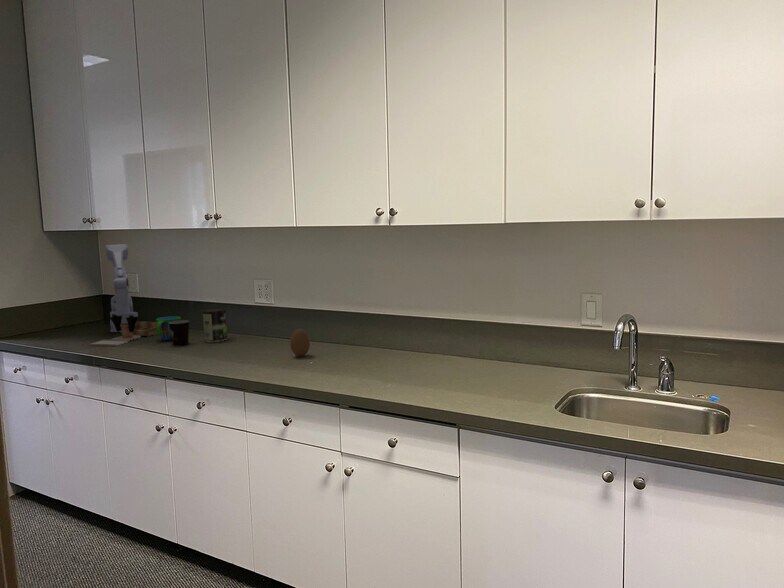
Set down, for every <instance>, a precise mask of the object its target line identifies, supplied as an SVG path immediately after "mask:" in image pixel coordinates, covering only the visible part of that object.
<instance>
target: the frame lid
mask: <svg viewBox="0 0 784 588" xmlns="http://www.w3.org/2000/svg"><path fill="white" fill-rule="evenodd" d="M129 342H130V341H129V340H111V339H101V340H100V341H96V342H93V343H92V342H91V343H88V346H89V347H113V346H116V347H118V345H119V346H121V344H122V345H124V343H125V344H128V343H129Z"/></svg>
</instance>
